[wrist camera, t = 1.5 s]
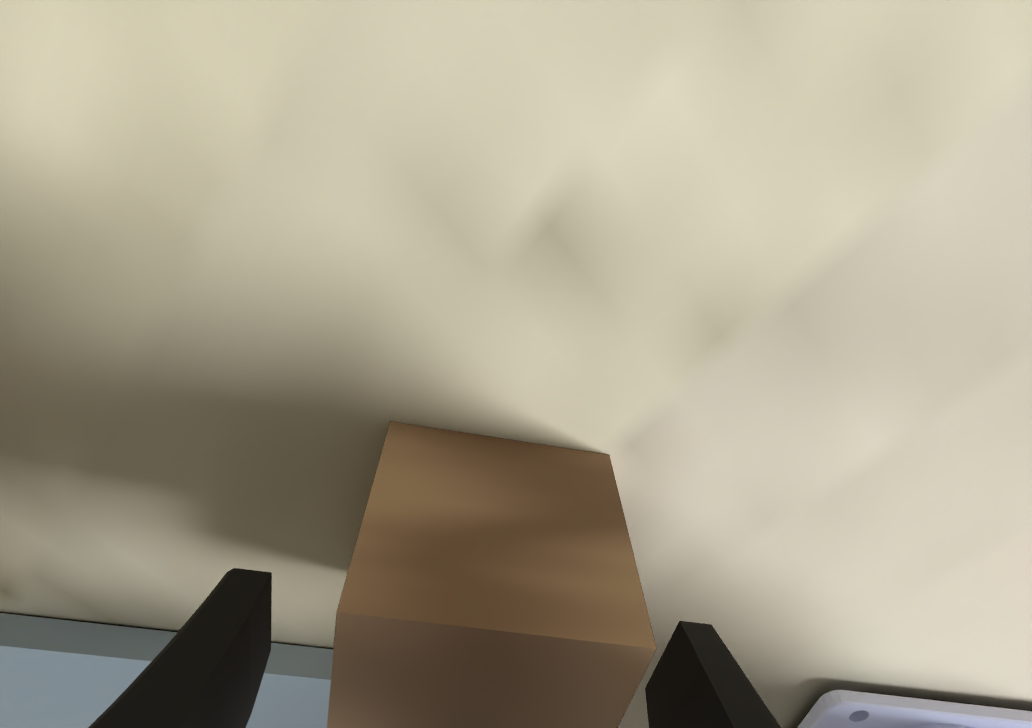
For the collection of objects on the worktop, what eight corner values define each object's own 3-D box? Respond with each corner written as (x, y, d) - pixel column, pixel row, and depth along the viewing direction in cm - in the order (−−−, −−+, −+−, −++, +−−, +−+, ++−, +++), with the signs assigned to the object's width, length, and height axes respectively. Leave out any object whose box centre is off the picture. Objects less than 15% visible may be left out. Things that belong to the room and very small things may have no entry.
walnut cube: (608, 452, 13) (656, 648, 9) (558, 597, 15) (577, 806, 11) (390, 419, 12) (336, 611, 8) (372, 574, 14) (322, 785, 10)
